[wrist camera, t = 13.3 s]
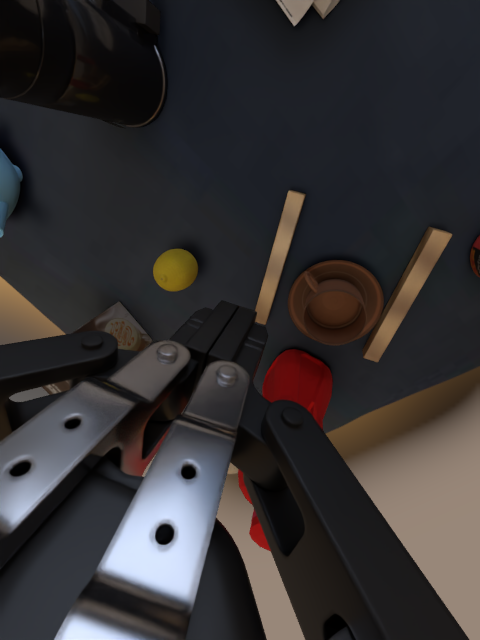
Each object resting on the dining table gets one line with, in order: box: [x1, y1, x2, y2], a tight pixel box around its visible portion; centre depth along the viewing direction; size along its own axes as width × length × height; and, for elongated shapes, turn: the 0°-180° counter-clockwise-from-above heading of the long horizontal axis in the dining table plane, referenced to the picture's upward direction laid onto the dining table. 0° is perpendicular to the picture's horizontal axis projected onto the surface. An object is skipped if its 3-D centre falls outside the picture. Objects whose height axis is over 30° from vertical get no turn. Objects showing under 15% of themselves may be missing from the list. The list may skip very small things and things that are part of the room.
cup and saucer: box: [288, 260, 384, 345], centre depth 37 cm, size 12×12×6 cm
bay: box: [255, 190, 452, 362], centre depth 38 cm, size 18×18×2 cm
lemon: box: [153, 249, 198, 291], centre depth 40 cm, size 6×6×8 cm
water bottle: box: [238, 349, 333, 551], centre depth 36 cm, size 9×11×25 cm
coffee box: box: [42, 302, 152, 395], centre depth 46 cm, size 9×6×16 cm
